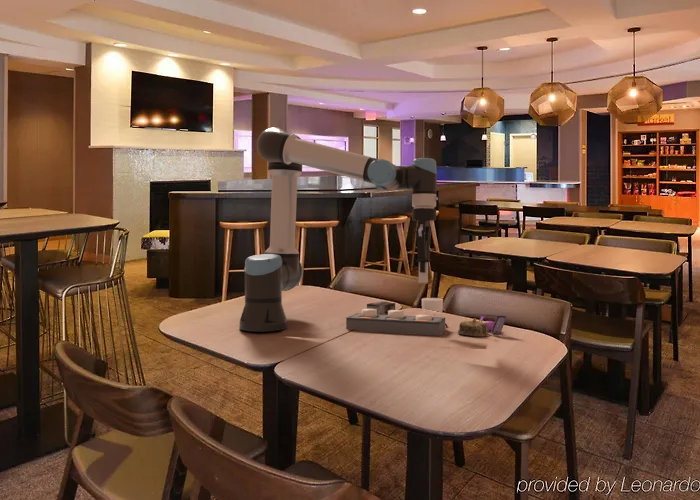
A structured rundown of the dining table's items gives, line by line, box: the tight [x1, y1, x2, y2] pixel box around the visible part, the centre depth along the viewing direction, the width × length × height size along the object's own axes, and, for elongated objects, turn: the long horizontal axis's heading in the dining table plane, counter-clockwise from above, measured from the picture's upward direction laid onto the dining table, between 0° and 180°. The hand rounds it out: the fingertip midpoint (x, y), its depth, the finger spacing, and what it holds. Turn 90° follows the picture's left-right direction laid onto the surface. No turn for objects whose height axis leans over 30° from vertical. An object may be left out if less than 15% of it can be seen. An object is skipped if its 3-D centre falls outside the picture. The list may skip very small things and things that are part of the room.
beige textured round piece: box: [457, 317, 491, 337], centre depth 171 cm, size 10×10×5 cm
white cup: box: [421, 297, 444, 313], centre depth 206 cm, size 8×8×10 cm
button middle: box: [387, 309, 405, 320], centre depth 178 cm, size 5×5×3 cm
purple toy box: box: [478, 313, 508, 335], centre depth 177 cm, size 7×5×9 cm
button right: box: [415, 314, 433, 321], centre depth 175 cm, size 5×5×3 cm
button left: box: [361, 308, 377, 318], centre depth 181 cm, size 5×5×3 cm
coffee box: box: [366, 301, 396, 315], centre depth 199 cm, size 9×6×16 cm
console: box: [345, 312, 446, 337], centre depth 178 cm, size 30×11×4 cm, turn 71°
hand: (423, 282), depth 175 cm, fingers closed
